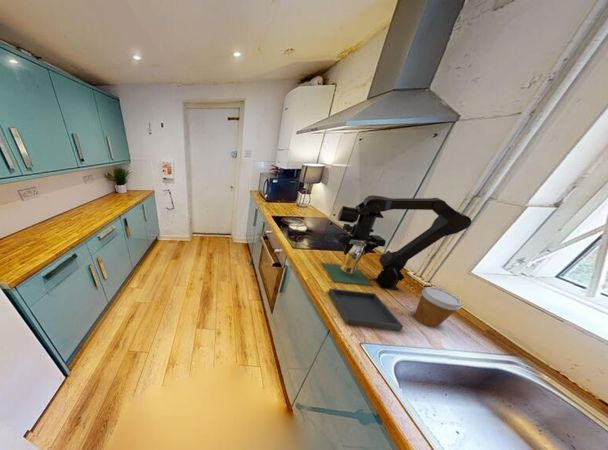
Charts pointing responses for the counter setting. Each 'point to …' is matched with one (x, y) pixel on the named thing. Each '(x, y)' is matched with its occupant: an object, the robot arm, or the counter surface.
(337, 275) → the drying mat
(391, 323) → the dark grey tray
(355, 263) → the beer glass
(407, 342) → the counter surface
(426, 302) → the disposable coffee cup
